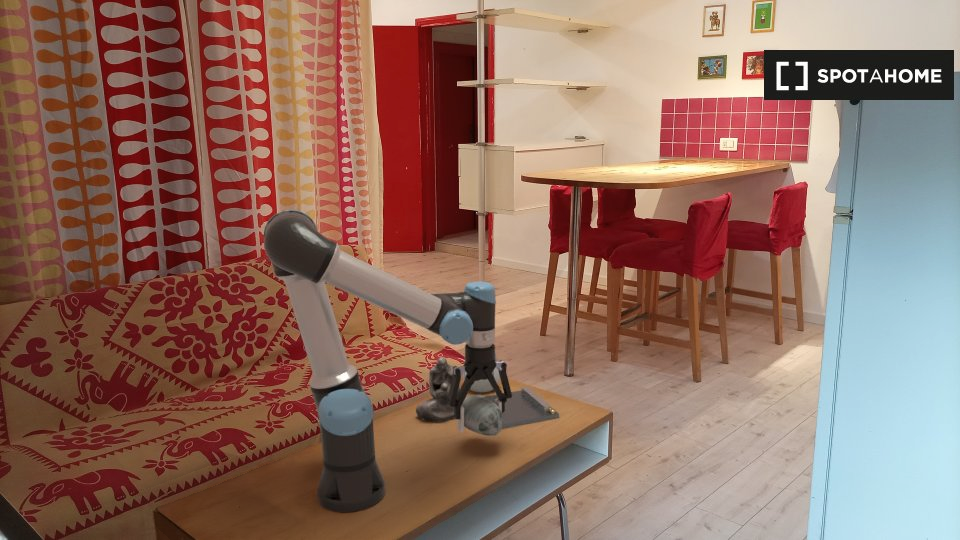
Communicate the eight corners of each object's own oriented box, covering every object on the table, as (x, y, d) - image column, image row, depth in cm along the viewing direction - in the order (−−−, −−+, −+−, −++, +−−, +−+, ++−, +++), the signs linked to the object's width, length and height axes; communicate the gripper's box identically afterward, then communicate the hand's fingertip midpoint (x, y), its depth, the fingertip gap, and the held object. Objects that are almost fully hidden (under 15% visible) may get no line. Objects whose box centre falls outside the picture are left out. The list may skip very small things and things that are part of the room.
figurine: (416, 424, 201) (413, 363, 197) (415, 407, 212) (413, 349, 208) (463, 421, 202) (461, 360, 198) (460, 405, 213) (458, 347, 209)
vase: (484, 379, 233) (482, 325, 229) (508, 388, 224) (507, 333, 220) (455, 388, 226) (453, 333, 222) (479, 399, 217) (478, 342, 213)
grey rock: (516, 422, 181) (496, 391, 179) (489, 447, 178) (468, 415, 175) (490, 416, 194) (471, 386, 191) (464, 439, 190) (444, 408, 187)
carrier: (492, 430, 196) (492, 420, 195) (467, 403, 214) (467, 394, 213) (559, 417, 203) (559, 407, 202) (529, 392, 221) (529, 383, 220)
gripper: (442, 353, 173) (443, 440, 178) (526, 343, 181) (525, 426, 186) (433, 344, 180) (433, 427, 185) (514, 334, 188) (513, 415, 192)
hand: (479, 427), depth 185 cm, fingers closed on grey rock, 9 cm apart
